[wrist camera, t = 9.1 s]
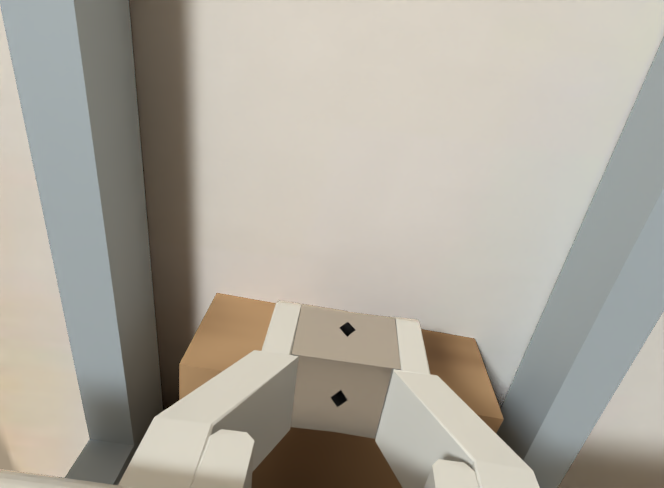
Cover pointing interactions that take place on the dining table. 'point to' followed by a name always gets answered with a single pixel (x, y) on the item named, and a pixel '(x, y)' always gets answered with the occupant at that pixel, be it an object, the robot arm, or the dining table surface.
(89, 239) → the grey u-shaped frame
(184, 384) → the tan cardboard slab
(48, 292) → the dining table surface
